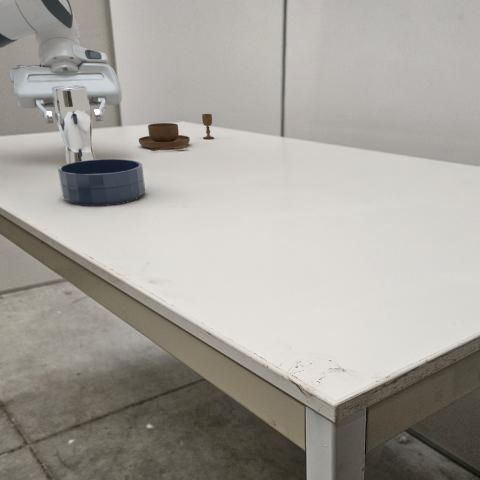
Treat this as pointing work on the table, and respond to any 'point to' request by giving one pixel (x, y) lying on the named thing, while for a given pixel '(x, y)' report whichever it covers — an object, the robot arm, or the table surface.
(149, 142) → the place setting
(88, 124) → the beer glass
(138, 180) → the bowl
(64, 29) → the robot arm
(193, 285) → the table surface
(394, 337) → the table surface
